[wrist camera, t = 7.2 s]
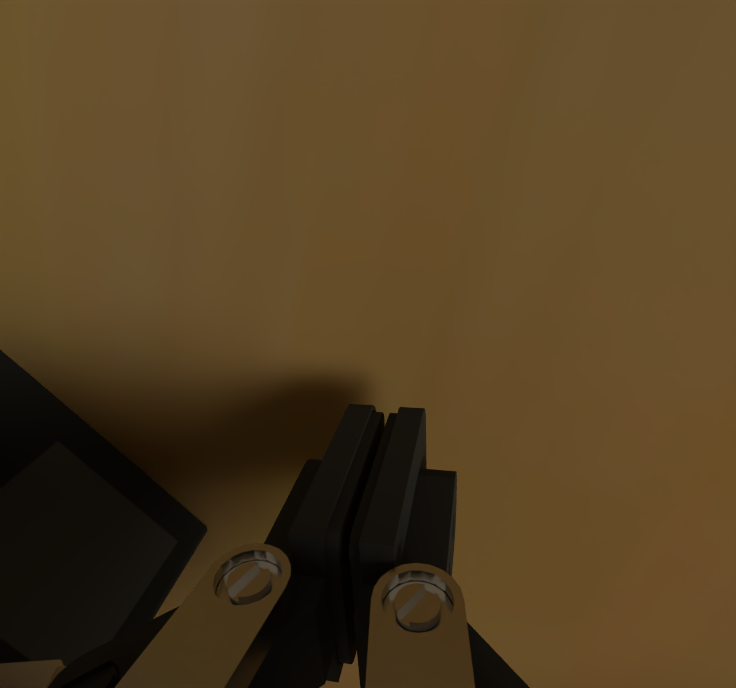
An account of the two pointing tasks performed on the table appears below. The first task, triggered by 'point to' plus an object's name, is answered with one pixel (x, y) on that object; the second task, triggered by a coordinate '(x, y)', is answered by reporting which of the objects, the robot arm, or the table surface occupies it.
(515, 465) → the table surface
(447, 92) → the table surface
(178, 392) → the table surface
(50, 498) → the digital camera
